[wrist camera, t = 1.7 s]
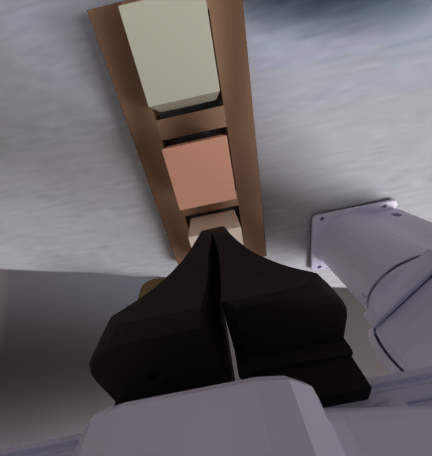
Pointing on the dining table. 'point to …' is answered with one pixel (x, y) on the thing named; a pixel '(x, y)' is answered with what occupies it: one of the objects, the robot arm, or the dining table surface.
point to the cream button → (215, 225)
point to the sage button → (172, 51)
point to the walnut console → (192, 120)
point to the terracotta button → (200, 171)
